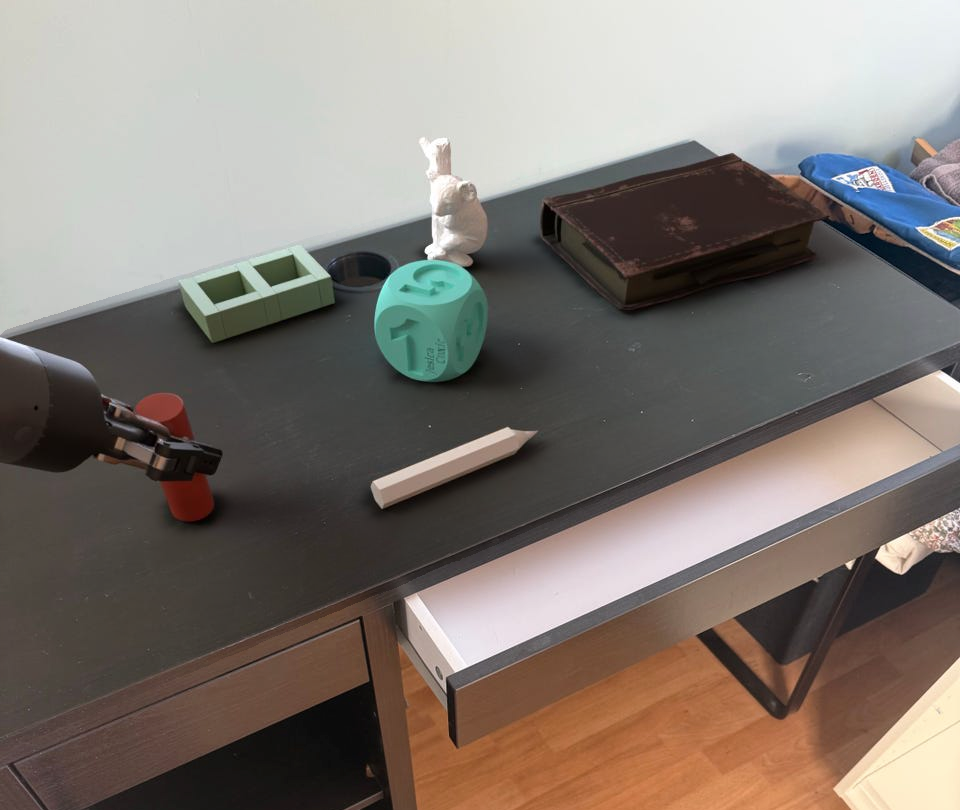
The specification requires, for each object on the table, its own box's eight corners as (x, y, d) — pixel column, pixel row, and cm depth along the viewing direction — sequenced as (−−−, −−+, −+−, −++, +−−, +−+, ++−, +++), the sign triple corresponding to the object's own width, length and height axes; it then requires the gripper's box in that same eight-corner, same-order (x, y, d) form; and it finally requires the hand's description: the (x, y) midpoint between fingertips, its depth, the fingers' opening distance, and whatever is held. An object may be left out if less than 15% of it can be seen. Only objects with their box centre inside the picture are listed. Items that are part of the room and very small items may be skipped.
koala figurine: (405, 252, 100) (397, 138, 90) (457, 236, 102) (455, 122, 93) (444, 287, 95) (441, 171, 86) (498, 269, 98) (500, 154, 88)
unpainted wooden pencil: (538, 446, 80) (380, 511, 75) (527, 425, 81) (369, 489, 75) (548, 434, 78) (385, 500, 73) (537, 412, 78) (374, 477, 73)
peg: (162, 514, 74) (124, 415, 66) (187, 487, 76) (154, 388, 68) (198, 526, 73) (164, 427, 65) (222, 499, 75) (192, 399, 67)
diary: (537, 237, 102) (539, 192, 98) (720, 190, 108) (729, 146, 104) (624, 321, 91) (631, 275, 87) (821, 263, 98) (835, 218, 94)
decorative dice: (377, 369, 86) (369, 293, 80) (417, 327, 91) (412, 251, 85) (451, 392, 84) (449, 315, 78) (488, 347, 89) (489, 270, 82)
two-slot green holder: (212, 343, 89) (204, 316, 87) (185, 307, 93) (177, 280, 91) (335, 303, 94) (331, 276, 91) (304, 270, 98) (300, 244, 95)
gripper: (96, 387, 53) (279, 442, 68) (-45, 306, 58) (155, 374, 74) (54, 503, 54) (243, 532, 70) (-79, 414, 60) (124, 459, 75)
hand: (197, 451), depth 72 cm, fingers closed on peg, 3 cm apart
